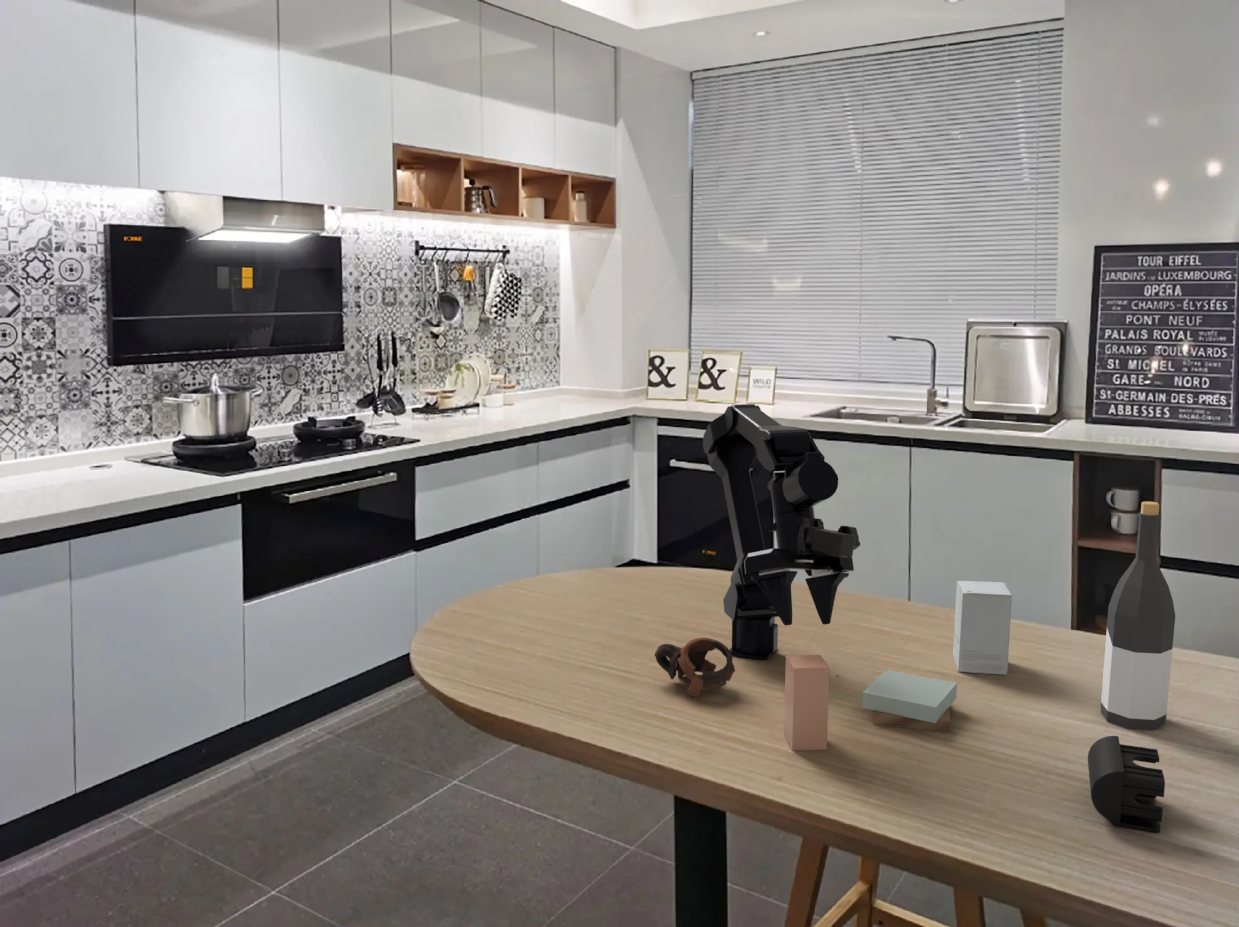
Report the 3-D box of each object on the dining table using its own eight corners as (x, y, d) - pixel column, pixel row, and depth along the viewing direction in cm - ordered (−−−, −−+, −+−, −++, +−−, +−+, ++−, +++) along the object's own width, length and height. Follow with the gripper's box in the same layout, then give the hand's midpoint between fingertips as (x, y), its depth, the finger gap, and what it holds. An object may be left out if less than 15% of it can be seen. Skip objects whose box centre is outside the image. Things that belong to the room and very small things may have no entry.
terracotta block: (783, 735, 139) (786, 655, 137) (817, 734, 139) (820, 654, 137) (791, 750, 134) (794, 668, 132) (826, 749, 135) (829, 667, 133)
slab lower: (872, 729, 142) (873, 714, 142) (873, 701, 152) (873, 686, 151) (949, 736, 140) (950, 721, 139) (945, 707, 149) (946, 692, 149)
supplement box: (1008, 676, 159) (1013, 595, 157) (957, 672, 161) (961, 592, 159) (1000, 659, 166) (1005, 581, 164) (952, 655, 168) (956, 579, 166)
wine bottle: (1162, 736, 138) (1182, 511, 133) (1095, 722, 142) (1112, 505, 137) (1168, 714, 145) (1187, 500, 140) (1104, 702, 149) (1120, 494, 144)
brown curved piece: (732, 677, 161) (743, 641, 155) (719, 725, 153) (730, 689, 148) (657, 653, 162) (665, 617, 157) (640, 699, 155) (649, 663, 150)
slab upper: (861, 707, 144) (862, 692, 144) (886, 684, 152) (886, 669, 152) (935, 723, 139) (935, 707, 138) (956, 698, 147) (957, 683, 147)
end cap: (1085, 785, 125) (1089, 731, 124) (1152, 795, 122) (1156, 740, 121) (1088, 825, 116) (1093, 767, 115) (1160, 837, 113) (1166, 778, 112)
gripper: (802, 499, 138) (817, 618, 135) (877, 508, 152) (893, 617, 148) (736, 514, 146) (749, 628, 143) (813, 522, 159) (827, 626, 156)
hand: (807, 624), depth 147 cm, fingers open, 9 cm apart
